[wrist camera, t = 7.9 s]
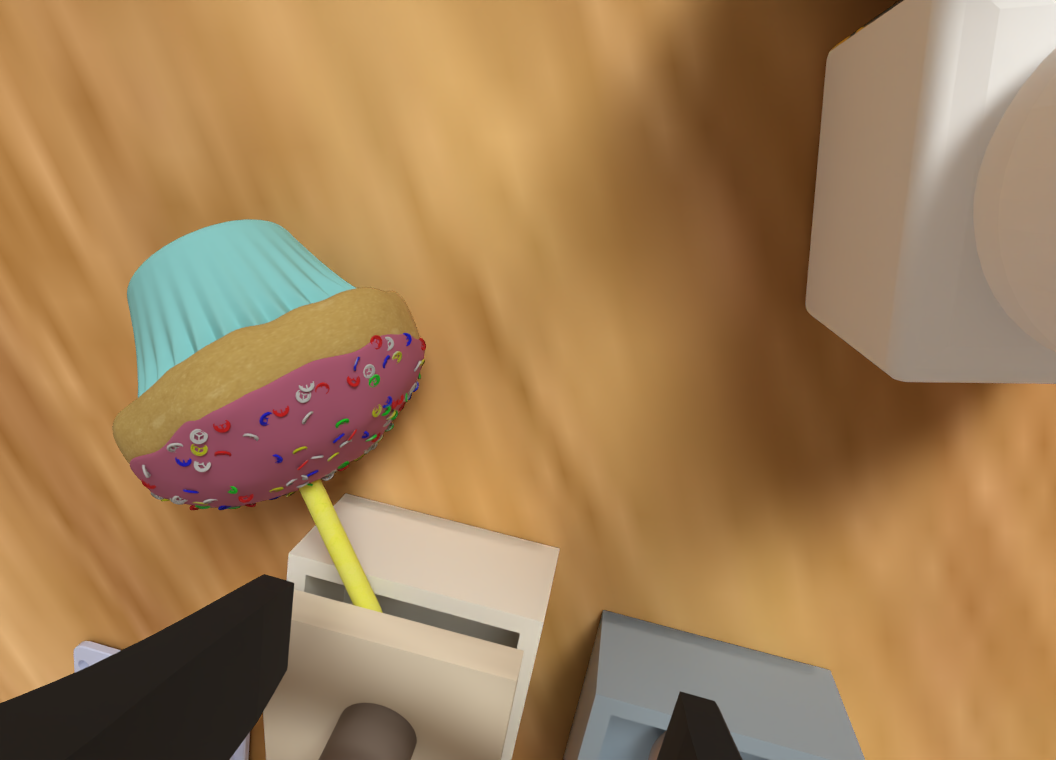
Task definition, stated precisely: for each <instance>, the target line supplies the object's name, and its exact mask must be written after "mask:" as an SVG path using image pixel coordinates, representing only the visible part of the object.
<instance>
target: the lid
mask: <svg viewBox="0 0 1056 760" xmlns="http://www.w3.org/2000/svg"><path fill="white" fill-rule="evenodd" d="M523 653H524V651H523V650H519V649H515V648H512V647H508V646H504V645H500V644H497V643H493V642H489V641H485V640H482V639H478V638H474V637H470V636H467V635H463V634H459V633H456V632H452V631H448V630H444V629H441V628H437V627H433V626H429V625H426V624H422V623H418V622H415V621H411V620H407V619H403V618H400V617H396V616H392V615H388V614H385V613H381V612H377V611H373V610H370V609H366V608H362V607H359V606H355V605H351V604H347V603H344V602H340V601H336V600H332V599H329V598H325V597H321V596H317V595H314V594H310V593H306V592H303V591H299V590H295V589H294V594H293V606H292V619H291V631H290V643H289V655H288V668H287V671H286V673H285V675H284V676H283V678H282V680H281V682H280V683H279V685H278V687H277V689H276V691H275V692H274V694H273V696H272V698H271V699H270V701H269V703H268V704H267V706H266V708H265V709H264V711H263V718H264V734H265V750H266V760H501V758H502V753H503V748H504V743H505V739H506V734H507V729H508V724H509V720H510V715H511V710H512V706H513V701H514V696H515V691H516V687H517V682H518V677H519V672H520V668H521V663H522V658H523Z"/></svg>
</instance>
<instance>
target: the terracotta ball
mask: <svg viewBox="0 0 1056 760" xmlns="http://www.w3.org/2000/svg"><path fill="white" fill-rule="evenodd" d="M665 734H666V731H665V732H664V733H663V734H661V735H660V736H659V737H658V738H657V740H656V741H655V742H654V744H653V746H652V748H651V750H650V753H649V757H648V760H657V757H658V754H659V751H660V748H661V745H662V742H663V740H664V737H665Z"/></svg>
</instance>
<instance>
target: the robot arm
mask: <svg viewBox="0 0 1056 760" xmlns="http://www.w3.org/2000/svg"><path fill="white" fill-rule="evenodd" d="M293 594H294V583H293V582H290V581H286V580H283V579H279V578H276V577H272V576H268V575H265V574H264V575H262V576H260V577H258V578H256V579H254V580H253V581H251V582H249V583H247V584H245V585H243V586H242V587H240V588H238V589H236V590H234V591H233V592H231V593H229V594H227V595H225V596H224V597H222V598H220V599H218V600H216V601H215V602H213V603H211V604H209V605H207V606H206V607H204V608H202V609H200V610H198V611H197V612H195V613H193V614H191V615H189V616H188V617H186V618H184V619H182V620H180V621H178V622H176V623H174V624H173V625H171V626H169V627H167V628H165V629H163V630H161V631H159V632H158V633H156V634H154V635H152V636H150V637H148V638H146V639H144V640H142V641H140V642H138V643H136V644H134V645H132V646H130V647H128V648H125V649H123V650H118V649H115V648H111V647H108V646H105V645H101V644H98V643H94V642H91V641H83V642H81V643H80V644H79V645H78V646H76V648H75V649H74V668H75V673H73V674H71V675H68V676H66V677H64V678H62V679H59V680H57V681H55V682H52V683H50V684H47V685H45V686H42V687H40V688H38V689H35V690H33V691H30V692H28V693H25V694H23V695H20V696H18V697H15V698H13V699H10V700H8V701H5V702H2V703H0V760H248V758H249V741H250V731H251V730H252V728H253V727H254V725H255V724H256V723H257V721H258V719H259V718H260V716H261V714H262V713H263V711H264V709H265V708H266V706H267V704H268V703H269V701H270V699H271V698H272V696H273V694H274V692H275V691H276V689H277V687H278V685H279V683H280V682H281V680H282V678H283V676H284V675H285V673H286V671H287V668H288V655H289V643H290V631H291V619H292V606H293ZM657 760H743V759H742V757H741V755H740V753H739V751H738V748H737V746H736V744H735V742H734V740H733V738H732V735H731V733H730V731H729V729H728V727H727V724H726V722H725V720H724V718H723V715H722V713H721V711H720V709H719V707H718V705H717V704H716V702H715V701H713V700H709V699H706V698H702V697H699V696H695V695H692V694H688V693H685V692H681V691H680V692H679V695H678V698H677V701H676V704H675V707H674V710H673V713H672V716H671V719H670V722H669V725H668V728H667V731H666V734H665V737H664V740H663V742H662V745H661V748H660V751H659V754H658V757H657Z"/></svg>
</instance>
